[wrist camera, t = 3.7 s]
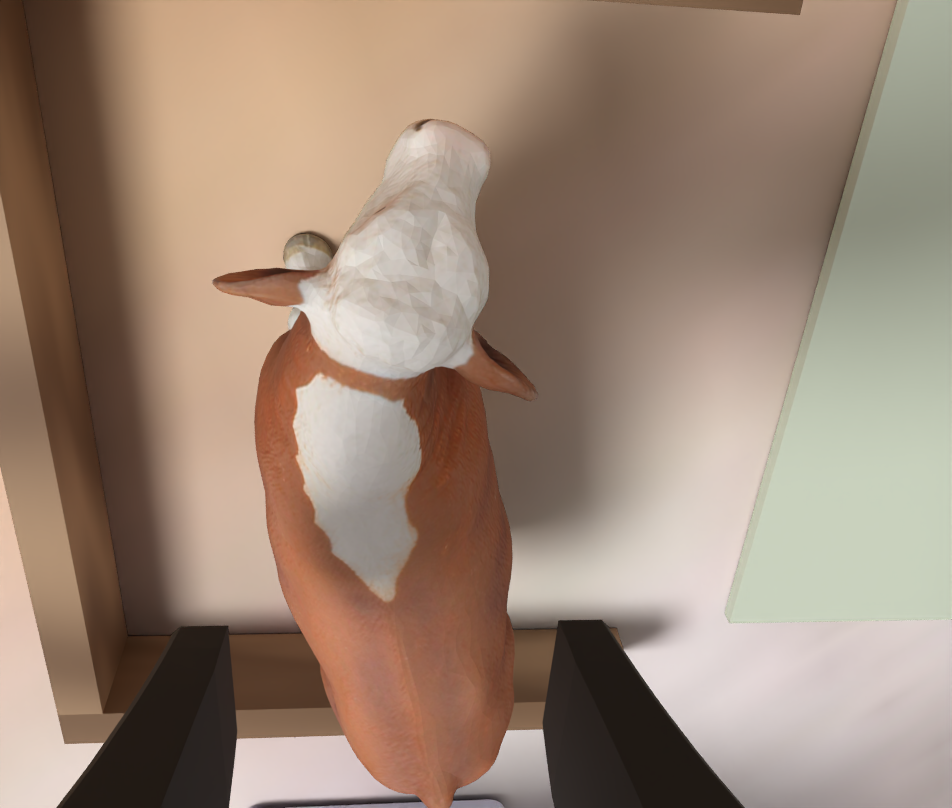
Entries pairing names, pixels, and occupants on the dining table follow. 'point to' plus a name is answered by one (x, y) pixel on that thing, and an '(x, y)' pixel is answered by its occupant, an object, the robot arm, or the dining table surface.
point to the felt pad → (871, 374)
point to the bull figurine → (394, 469)
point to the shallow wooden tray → (79, 478)
